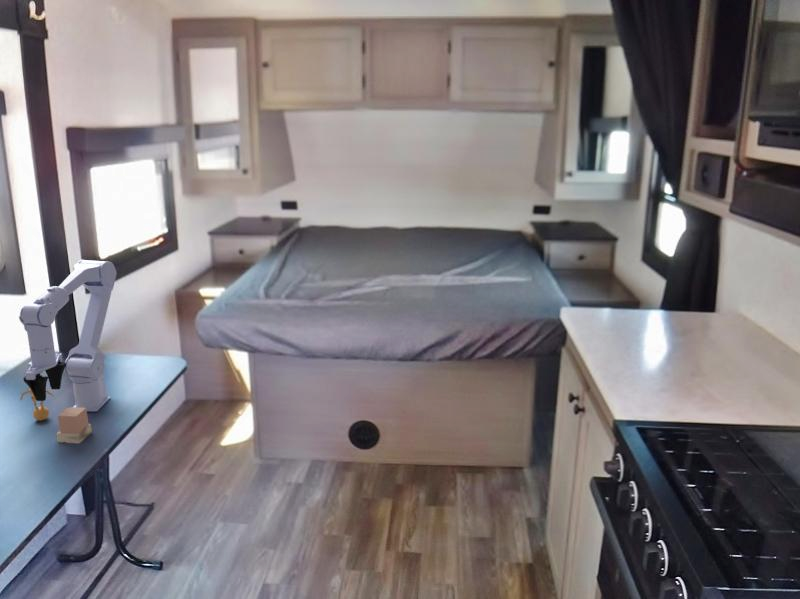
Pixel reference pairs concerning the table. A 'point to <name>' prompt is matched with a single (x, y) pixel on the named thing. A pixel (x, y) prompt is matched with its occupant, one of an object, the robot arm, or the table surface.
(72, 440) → the birch base block
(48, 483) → the table surface
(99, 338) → the robot arm
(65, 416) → the terracotta cube
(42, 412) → the figurine
